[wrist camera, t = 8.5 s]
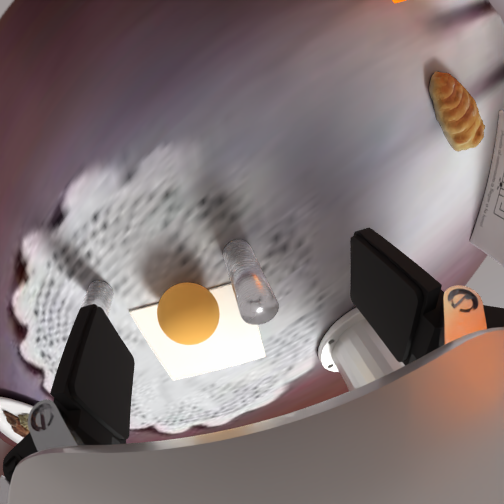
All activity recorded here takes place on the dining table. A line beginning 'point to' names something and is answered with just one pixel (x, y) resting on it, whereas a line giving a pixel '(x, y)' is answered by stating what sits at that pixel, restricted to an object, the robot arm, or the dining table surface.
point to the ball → (188, 313)
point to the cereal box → (493, 204)
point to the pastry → (456, 112)
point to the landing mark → (209, 351)
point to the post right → (249, 284)
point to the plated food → (14, 418)
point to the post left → (99, 295)
